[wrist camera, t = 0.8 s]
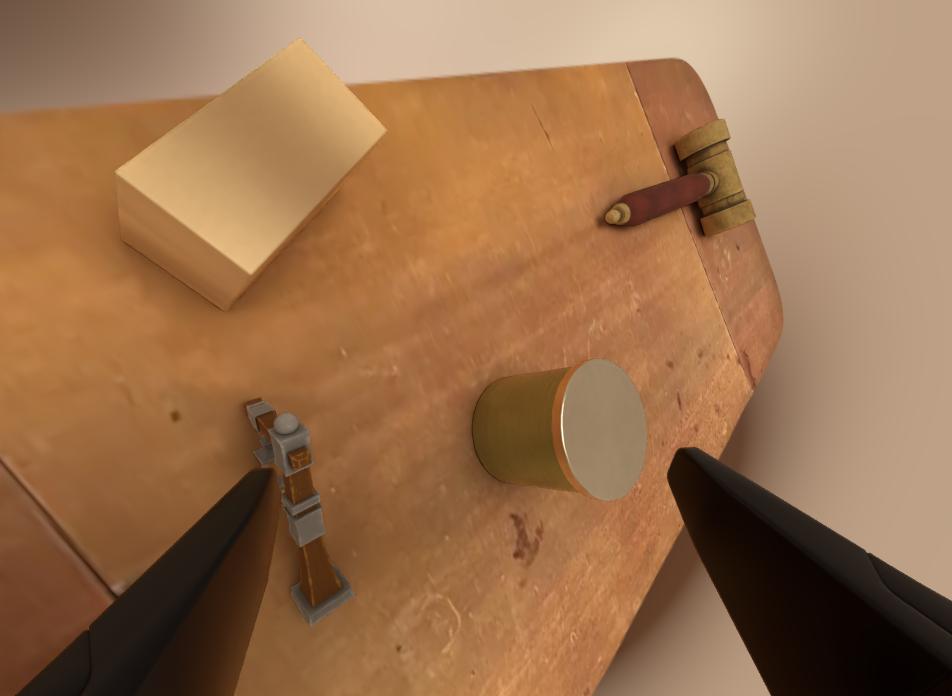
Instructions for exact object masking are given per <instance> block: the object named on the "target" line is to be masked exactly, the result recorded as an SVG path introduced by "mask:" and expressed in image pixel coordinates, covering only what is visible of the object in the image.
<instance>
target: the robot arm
mask: <svg viewBox="0 0 952 696" xmlns="http://www.w3.org/2000/svg"><path fill="white" fill-rule="evenodd" d="M667 479H668V483H669V486H670V488H671V491H672V493H673V496H674V498H675V501H676V503H677V506H678V508H679V511H680V513H681V516H682V518H683V521H684V523H685V526H686V528H687V531H688V533H689V536H690V538H691V540H692V542H693V545H694V546H695V549H696V550H697V553H698V555H699V557H700V559H701V561H702V563H703V564H704V566H705V568H706V570H707V572H708V574H709V576H710V578H711V580H712V582H713V584H714V586H715V588H716V590H717V592H718V593H719V596H720V598H721V599H722V601H723V603H724V605H725V607H726V609H727V611H728V613H729V615H730V617H731V619H732V621H733V623H734V625H735V626H736V629H737V631H738V632H739V634H740V636H741V638H742V640H743V642H744V644H745V646H746V648H747V650H748V652H749V654H750V656H751V658H752V660H753V661H754V664H755V665H756V667H757V669H758V671H759V673H760V675H761V677H762V679H763V681H764V683H765V685H766V686H767V689H768V691H769V693H770V695H771V696H952V601H951V600H949V599H947V598H946V597H944V596H942V595H940V594H938V593H936V592H935V591H933V590H931V589H930V588H928V587H926V586H924V585H922V584H921V583H919V582H917V581H916V580H914V579H912V578H911V577H909V576H907V575H905V574H904V573H902V572H901V571H899V570H897V569H895V568H894V567H892V566H890V565H888V564H887V563H886V562H884V561H882V560H881V559H879V558H877V557H876V556H874V555H873V554H871V553H867V552H866V551H865V550H864V549H862V548H861V547H859V546H858V545H856V544H854V543H853V542H851V541H850V540H848V539H846V538H845V537H843V536H841V535H840V534H838V533H836V532H834V531H833V530H831V529H830V528H828V527H827V526H825V525H823V524H822V523H820V522H818V521H817V520H815V519H813V518H812V517H810V516H809V515H807V514H805V513H803V512H802V511H800V510H799V509H797V508H795V507H794V506H792V505H791V504H789V503H787V502H786V501H784V500H782V499H781V498H779V497H777V496H776V495H774V494H772V493H771V492H769V491H768V490H766V489H764V488H762V487H761V486H759V485H758V484H756V483H754V482H753V481H751V480H750V479H748V478H746V477H745V476H743V475H741V474H740V473H738V472H736V471H735V470H733V469H732V468H730V467H728V466H726V465H725V464H723V463H722V462H720V461H718V460H717V459H715V458H713V457H712V456H710V455H709V454H707V453H705V452H704V451H702V450H700V449H699V448H696V447H684V448H679V449H678V450H677V451H676V453H675V455H674V458H673V460H672V462H671V465H670V467H669V470H668V473H667ZM280 509H281V492H280V488H279V483H278V479H277V474H276V471H275V469H274V468H271V467H270V468H254V469H252V470H250V471H249V472H248V473H247V474H246V475H245V476H244V477H243V478H242V479H241V480H240V481H239V482H238V483H237V484H236V485H235V486H233V487H232V488H231V489H230V490H229V491H228V492H227V493H226V494H225V495H224V496H223V497H222V498H221V499H220V500H219V501H218V502H217V503H216V504H215V505H214V506H213V507H212V508H211V509H210V510H209V511H208V512H207V513H205V514H204V515H203V516H202V517H201V518H200V519H199V520H198V521H197V522H196V523H195V524H194V525H193V526H192V527H191V528H190V529H189V530H188V531H187V532H186V533H185V534H184V535H183V536H182V537H181V538H180V539H179V540H178V541H176V542H175V543H174V544H173V545H172V546H171V547H170V548H169V549H168V550H167V551H166V552H165V553H164V554H163V555H162V556H161V557H160V558H159V559H158V560H157V561H156V562H155V563H154V564H153V565H152V566H151V567H150V568H148V569H147V570H146V571H145V572H144V573H143V574H142V575H141V576H140V577H139V578H138V579H137V580H136V581H135V582H134V583H133V584H132V585H131V586H130V587H129V588H128V589H127V590H126V591H125V592H124V593H123V594H122V595H120V596H119V597H118V598H117V599H116V600H115V601H114V602H113V603H112V604H111V605H110V606H109V607H108V608H107V609H106V610H105V611H104V612H103V613H102V614H101V615H100V616H99V617H98V618H97V619H96V620H95V621H94V622H93V623H91V624H90V626H89V630H84V631H83V632H82V633H81V634H80V635H79V636H78V637H77V638H76V639H75V640H74V641H73V642H72V643H70V644H69V645H68V646H67V647H66V648H65V649H64V650H63V651H62V652H61V653H60V654H59V655H58V656H57V657H56V658H55V659H54V660H53V661H52V662H50V663H49V664H48V665H47V666H46V667H45V668H44V669H43V670H42V671H41V672H40V673H39V674H38V675H37V676H35V677H34V678H33V679H32V680H31V681H30V682H29V683H28V684H27V685H26V686H25V687H24V688H23V689H22V690H20V691H19V692H18V693H17V694H16V695H15V696H234V693H235V689H236V686H237V683H238V679H239V676H240V672H241V669H242V666H243V662H244V659H245V656H246V652H247V649H248V646H249V642H250V639H251V635H252V632H253V629H254V625H255V622H256V619H257V615H258V612H259V608H260V605H261V602H262V598H263V595H264V591H265V588H266V584H267V580H268V575H269V570H270V565H271V559H272V553H273V548H274V542H275V537H276V531H277V525H278V520H279V514H280Z"/></svg>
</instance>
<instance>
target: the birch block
mask: <svg viewBox="0 0 952 696" xmlns="http://www.w3.org/2000/svg"><path fill="white" fill-rule="evenodd" d="M386 132H387V130H386V128H385V127H384V126H383V125H382V124H381V123H380V122H379V121H378V120H377V119H376V118H375V117H374V115H373V114H372V113H371V112H370V111H369V110H368V109H367V108H366V107H365V106H364V105H363V104H362V103H361V102H360V101H359V99H358V98H357V97H356V96H355V95H354V94H353V93H352V92H351V91H350V90H349V89H348V88H347V87H346V86H345V85H344V84H343V82H342V81H341V80H340V79H339V78H338V77H337V76H336V75H335V74H334V73H333V72H332V71H331V70H330V69H329V68H328V67H327V65H326V64H325V63H324V62H323V61H322V60H321V59H320V58H319V57H318V56H317V55H316V54H315V53H314V52H313V50H312V49H311V48H310V47H309V46H308V45H307V44H306V43H305V42H304V41H303V40H302V39H301V38H298V39H297V40H295V41H294V42H293V43H291V44H290V45H289V46H287V47H286V48H284V49H283V50H282V51H280V52H279V53H277V54H276V55H275V56H273V57H272V58H270V59H269V60H268V61H266V62H265V63H264V64H262V65H261V66H259V67H258V68H257V69H255V70H254V71H252V72H251V73H250V74H248V75H247V76H246V77H244V78H243V79H241V80H240V81H239V82H237V83H236V84H235V85H233V86H232V87H230V88H229V89H228V90H226V91H225V92H223V93H222V94H221V95H219V96H218V97H217V98H215V99H214V100H212V101H211V102H210V103H208V104H207V105H206V106H204V107H203V108H201V109H200V110H199V111H197V112H196V113H194V114H193V115H192V116H190V117H189V118H188V119H186V120H185V121H183V122H182V123H181V124H179V125H178V126H177V127H175V128H174V129H172V130H171V131H170V132H168V133H167V134H165V135H164V136H163V137H161V138H160V139H159V140H157V141H156V142H154V143H153V144H152V145H150V146H149V147H147V148H146V149H145V150H143V151H142V152H141V153H139V154H138V155H136V156H135V157H134V158H132V159H131V160H130V161H128V162H127V163H125V164H124V165H123V166H121V167H120V168H118V169H117V170H116V171H115V180H116V191H117V202H118V213H119V223H120V234H121V239H122V240H123V241H124V242H125V243H127V244H128V245H130V246H131V247H133V248H134V249H136V250H137V251H138V252H140V253H141V254H143V255H144V256H146V257H147V258H148V259H150V260H151V261H153V262H154V263H156V264H157V265H158V266H160V267H161V268H163V269H164V270H166V271H167V272H168V273H170V274H171V275H173V276H174V277H176V278H177V279H179V280H180V281H181V282H183V283H184V284H186V285H187V286H189V287H190V288H191V289H193V290H194V291H196V292H197V293H199V294H200V295H201V296H203V297H204V298H206V299H207V300H209V301H210V302H211V303H213V304H214V305H216V306H217V307H219V308H220V309H222V310H223V311H225V312H226V311H228V309H229V308H230V307H231V306H232V305H233V304H234V303H235V302H236V301H237V300H238V299H239V298H240V297H241V295H242V294H243V293H244V292H245V291H246V290H247V289H248V288H249V287H250V286H251V285H252V284H253V282H254V281H255V280H256V279H257V278H258V277H259V276H260V275H261V274H262V273H263V272H264V271H265V269H266V268H267V267H268V266H269V265H270V264H271V263H272V262H273V261H274V260H275V259H276V258H277V257H278V255H279V254H280V253H281V252H282V251H283V250H284V249H285V248H286V247H287V246H288V245H289V244H290V242H291V241H292V240H293V239H294V238H295V237H296V236H297V235H298V234H299V233H300V232H301V231H302V229H303V228H304V227H305V226H306V225H307V224H308V223H309V222H310V221H311V220H312V219H313V218H314V217H315V215H316V214H317V213H318V212H319V211H320V210H321V209H322V208H323V207H324V206H325V205H326V204H327V202H328V201H329V200H330V199H331V198H332V197H333V196H334V195H335V194H336V193H337V192H338V191H339V190H340V188H341V187H342V186H343V185H344V184H345V182H346V181H347V180H348V179H349V177H350V176H351V175H352V174H353V173H354V171H355V170H356V169H357V168H358V166H359V165H360V164H361V163H362V162H363V160H364V159H365V158H366V157H367V155H368V154H369V153H370V152H371V151H372V149H373V148H374V147H375V146H376V145H377V143H378V142H379V141H380V140H381V138H382V137H383V136H384V135H385V134H386Z"/></svg>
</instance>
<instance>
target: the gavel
mask: <svg viewBox="0 0 952 696" xmlns="http://www.w3.org/2000/svg"><path fill="white" fill-rule="evenodd" d="M729 139H730V134H729V131H728V128H727V125H726V122H725V120H724V119H718V120H715V121H712V122H710V123H708V124H705V125H703V126H701V127H699V128H697V129H695V130H693V131H691V132H689V133H688V134H686V135H684V136H683V137H681V138H680V139H678V140H677V141H676V143H675V148H676V151H677V154H678V157H679V160H680V162H682V161H686V164H687V166H688V170H687V172H688V175H686V176H682V177H679V178H676V179H673V180H670V181H667V182H664V183H660V184H657V185H654V186H651V187H648V188H645V189H642V190H639V191H635V192H632V193H629V194H626V195H625V196H623V197H622V198H621V199H620V200H619V202H618V203H617V204H616V205H614V206H613V207H612V209H611V210H610V211H609V212H608V213H607V214H606V217H605V218H606V221H607V222H608V223H610V224H614V223H615V224H617V225H621V224H623V225H627V226H636V225H639V224H641V223H644V222H646V221H648V220H651V219H653V218H656V217H658V216H661V215H663V214H666V213H668V212H671V211H673V210H676V209H678V208H681V207H683V206H686V205H688V204H691V203H693V202H696V201H697V202H698V205H699V208H702V211H703V214H704V217H702V218H701V219H700V222H701V225H702V228H703V231H704V234H705V235H706V236H711V235H715V234H718V233H721V232H724V231H727V230H730V229H732V228H735V227H738V226H740V225H743V224H745V223H747V222H750V221H752V220H753V219H754V218H755V217H756V215H755V212H754V209H753V206H752V203H751V200H750V199H749V200H744V197H743V194H742V191H743V187H742V184H741V181H740V178H739V175H738V172H737V169H736V166H735V163H734V160H733V156H732V153H731V151H730V150H729V151H728V148H727V144H726V141H727V140H729Z"/></svg>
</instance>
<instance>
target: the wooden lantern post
mask: <svg viewBox="0 0 952 696" xmlns="http://www.w3.org/2000/svg"><path fill="white" fill-rule="evenodd" d="M243 404H244V408H245V411H246V415H247V416H248V417H249V419H250V420H251V424H252V426H253V427H254V428H255V429H256V430H257V432H260V433H261V434H263V435H265V436H264V437H262V438H261V439H259V441H260V443H261V444H262V445H263V448H260V449H258V450H255V451H253V454H254V455H255V456H256V458H257V459H258V460H259V461H260V463H261V464H262V468H270V467H271V468H274V469H275V471H276V474H277V479H278V483H279V488H280V489H282V488H284V487H285V493H283V494H281V496H282V500H281V501H282V503H283V504H284V505H285V507H283V508H284V510H285V512H286V514H287V518H288V523H289V533H290V534H291V536H292V537H293V539H294V540H295V541H296V543H297V547H298V557H299V567H300V582H299V583H297V584H295V585H294V586H292V587H291V590H292V593H291V596H292V598H293V600H294V601H295V603H296V605H297V606H298V608H299V610H300V611H301V613H302V615H303V616H304V618H305V619H306V621H307V623H308V624H309V626H310V627H311V626H312V625H314V624H315V623H317V622H318V621H320V620H321V619H322V618H324V617H325V616H327V615H328V614H330V613H331V612H332V611H334V610H335V609H337V608H338V607H340V606H341V605H342V604H344V603H345V602H347V601H348V600H350V599H351V598H352V597H354V596H355V595H356V594H355V593H354V592H353V587H352V586H351V585H350V583H349V582H348V581H347V579H346V578H345V577H344V576H343V574H342V573H341V572H340V570H339V569H338V568H337V566H336V565H335V564H334V563H333V561H332V562H331V560H330V558H329V555H328V553H327V550H326V547H325V543H324V539H323V534H325V533H326V530H325V528H324V524H323V518H322V506H321V505H320V504H319V502H321V500H320V494H319V493H318V492H317V491H316V490H315V488H314V487H313V482H312V477H311V471H310V466H311V465H313V464H315V462H314V460H313V458H312V452H311V446H310V440H309V434H310V431H309V430H308V429H307V428H306V427H305V426H304V425H303V424H302V423H301V422H300V421H299V420H298V419H297V417H296V415H294V414H292V413H290V412H284V413H281V414H279V415H278V416H277V414H276V410H275V408H274V407H273V406H272V405H271V404H270V403H269V402H268V403H266V402H265V400H264V401H263V400H262V398H261V397H260V398H257V399H254V400H251V401H248V402H245V403H243Z"/></svg>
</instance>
